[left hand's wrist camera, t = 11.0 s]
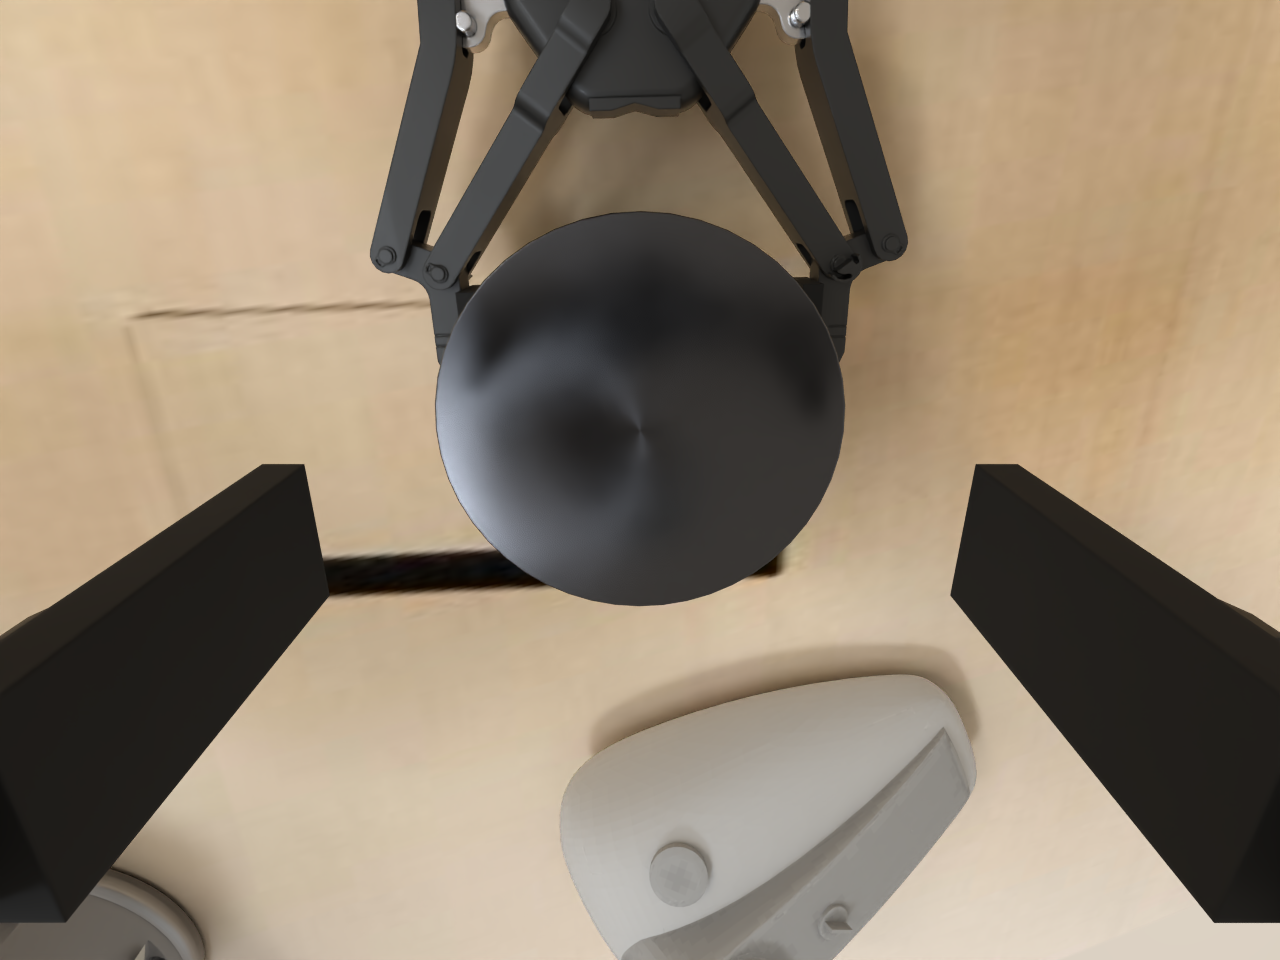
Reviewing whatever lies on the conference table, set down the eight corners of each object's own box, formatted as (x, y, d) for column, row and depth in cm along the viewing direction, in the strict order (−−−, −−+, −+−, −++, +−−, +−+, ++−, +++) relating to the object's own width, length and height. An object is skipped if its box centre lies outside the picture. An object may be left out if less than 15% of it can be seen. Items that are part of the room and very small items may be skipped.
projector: (848, 929, 48) (930, 1214, 34) (531, 864, 46) (485, 1142, 32) (993, 682, 40) (1174, 925, 27) (620, 588, 38) (609, 801, 24)
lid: (756, 141, 18) (770, 133, 16) (868, 503, 22) (890, 531, 20) (384, 306, 19) (356, 316, 17) (550, 616, 23) (542, 653, 21)
